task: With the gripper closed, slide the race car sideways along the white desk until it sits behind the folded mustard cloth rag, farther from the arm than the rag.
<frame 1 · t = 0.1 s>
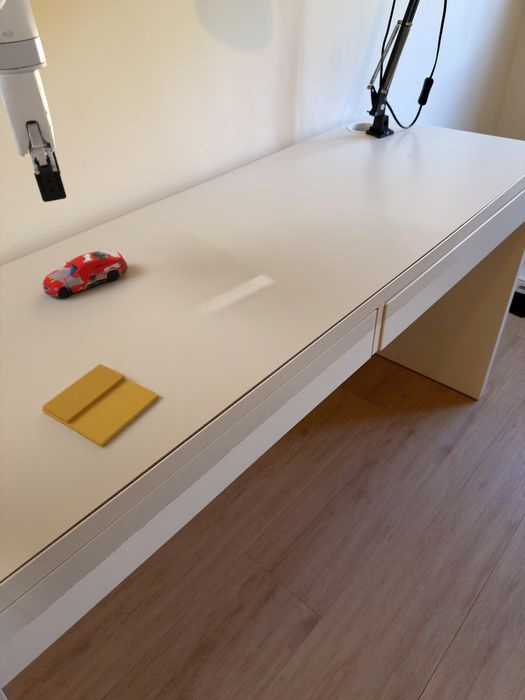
hand: (52, 187, 77), 14 cm above the table, tool pointing down, fingers open, 9 cm apart
rag: (101, 404, 62), on the table
race car: (87, 282, 84), on the table
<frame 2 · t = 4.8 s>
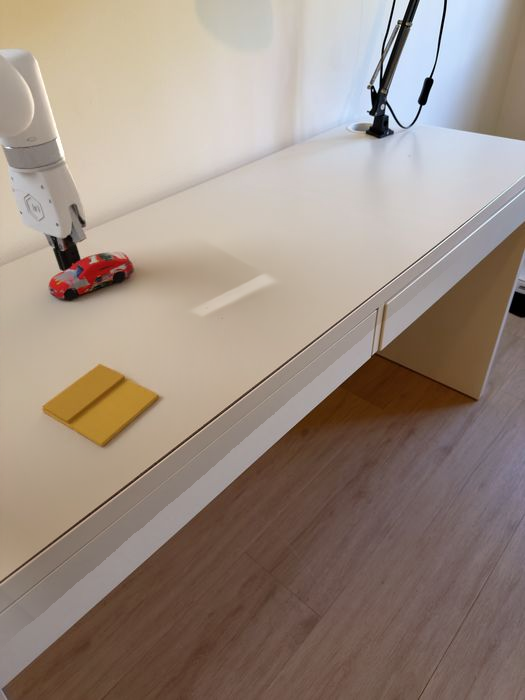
hand: (71, 267, 85), 1 cm above the table, tool pointing down, fingers closed
race car: (93, 284, 83), on the table, touching gripper
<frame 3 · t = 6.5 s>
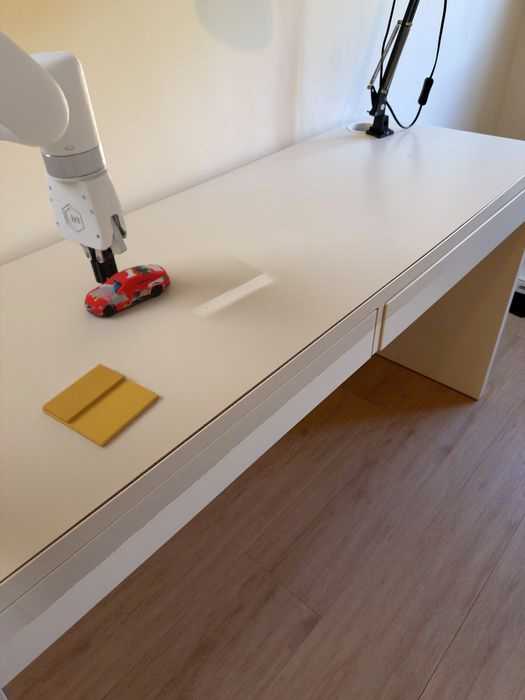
hand: (108, 279, 81), 2 cm above the table, tool pointing down, fingers closed
race car: (129, 299, 79), on the table, touching gripper
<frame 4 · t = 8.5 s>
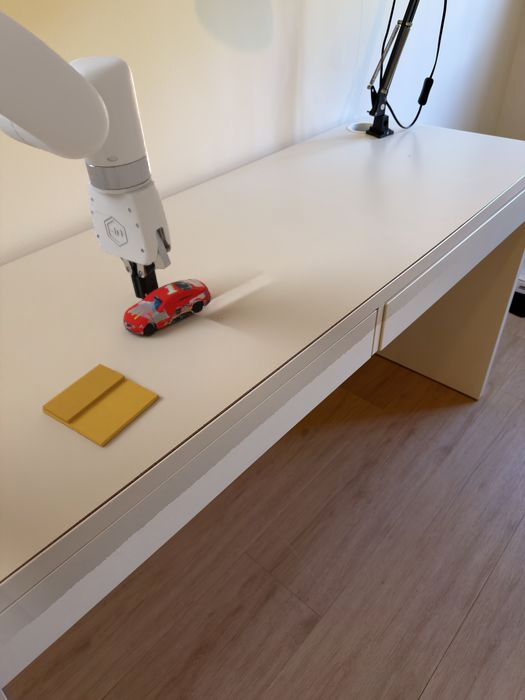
hand: (147, 294, 77), 2 cm above the table, tool pointing down, fingers closed
race car: (168, 316, 76), on the table, touching gripper
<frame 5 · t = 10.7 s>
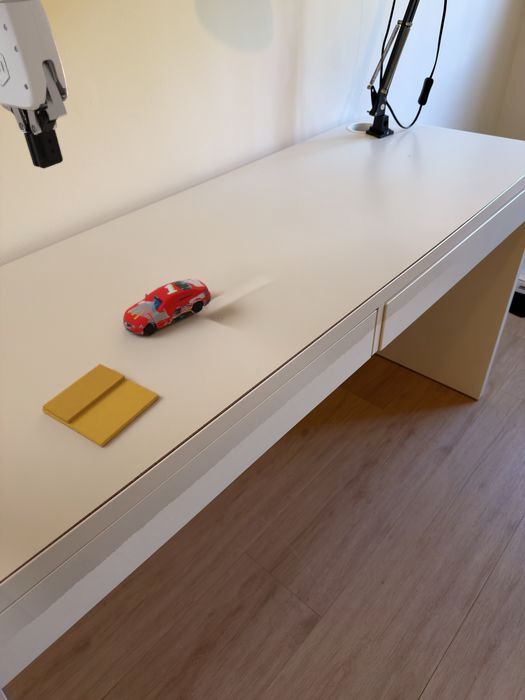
hand: (48, 163, 65), 21 cm above the table, tool pointing down, fingers closed
race car: (168, 316, 76), on the table
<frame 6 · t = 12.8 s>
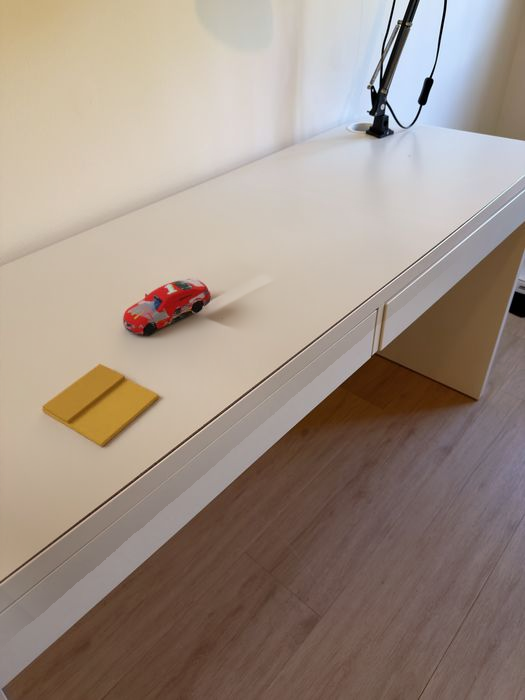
nothing on the table moved.
at the end: race car inside the target area on the table beside the rag (5.6 cm from its centre), on the table; race car touching table; race car tilted 0° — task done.
